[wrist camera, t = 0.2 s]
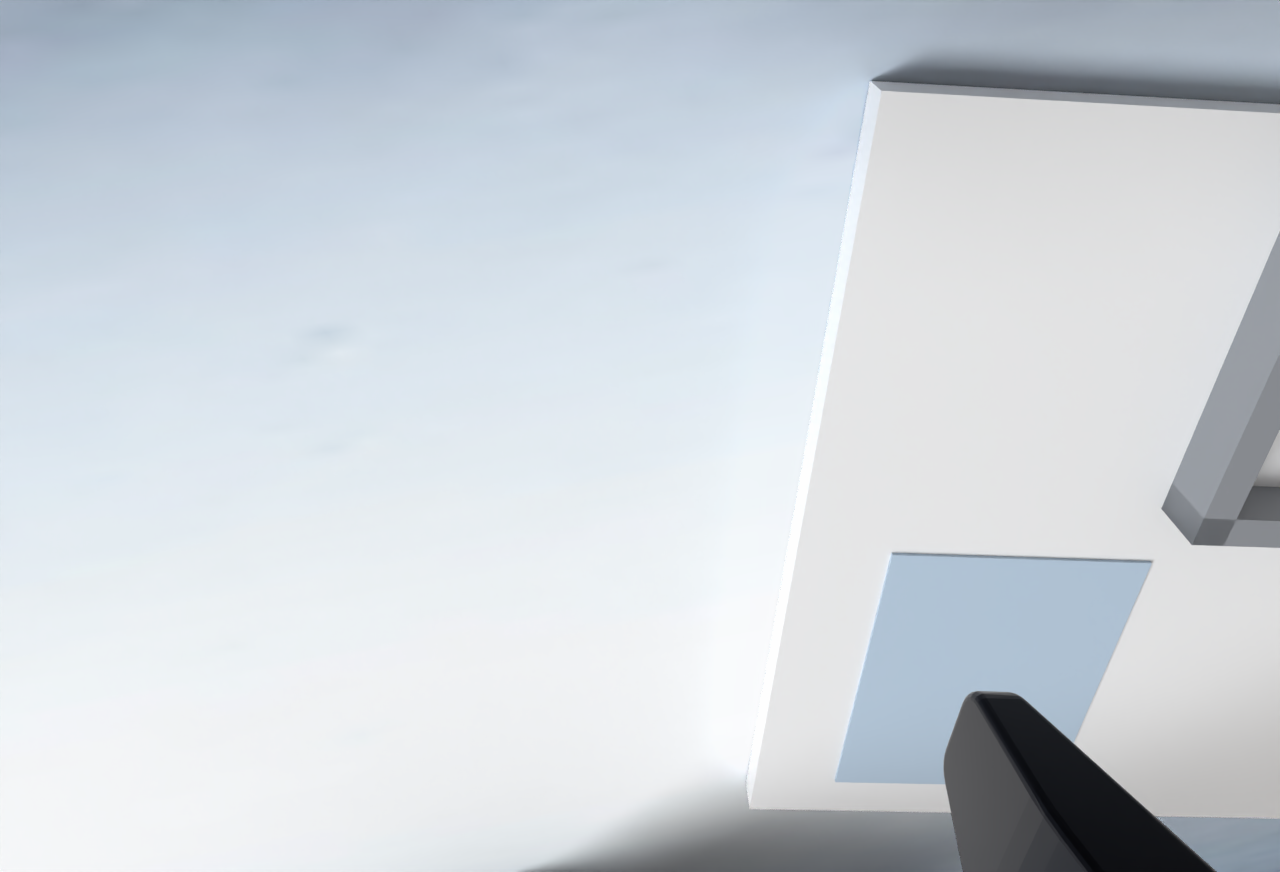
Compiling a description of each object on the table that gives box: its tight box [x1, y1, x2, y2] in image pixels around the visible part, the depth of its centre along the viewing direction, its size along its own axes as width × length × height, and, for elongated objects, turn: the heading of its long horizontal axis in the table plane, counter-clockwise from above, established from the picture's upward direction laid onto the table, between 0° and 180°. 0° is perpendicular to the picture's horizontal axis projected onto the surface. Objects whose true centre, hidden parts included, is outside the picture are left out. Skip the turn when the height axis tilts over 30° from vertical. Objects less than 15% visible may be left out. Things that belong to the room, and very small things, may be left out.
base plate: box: [746, 81, 1280, 819], centre depth 25 cm, size 22×19×2 cm
